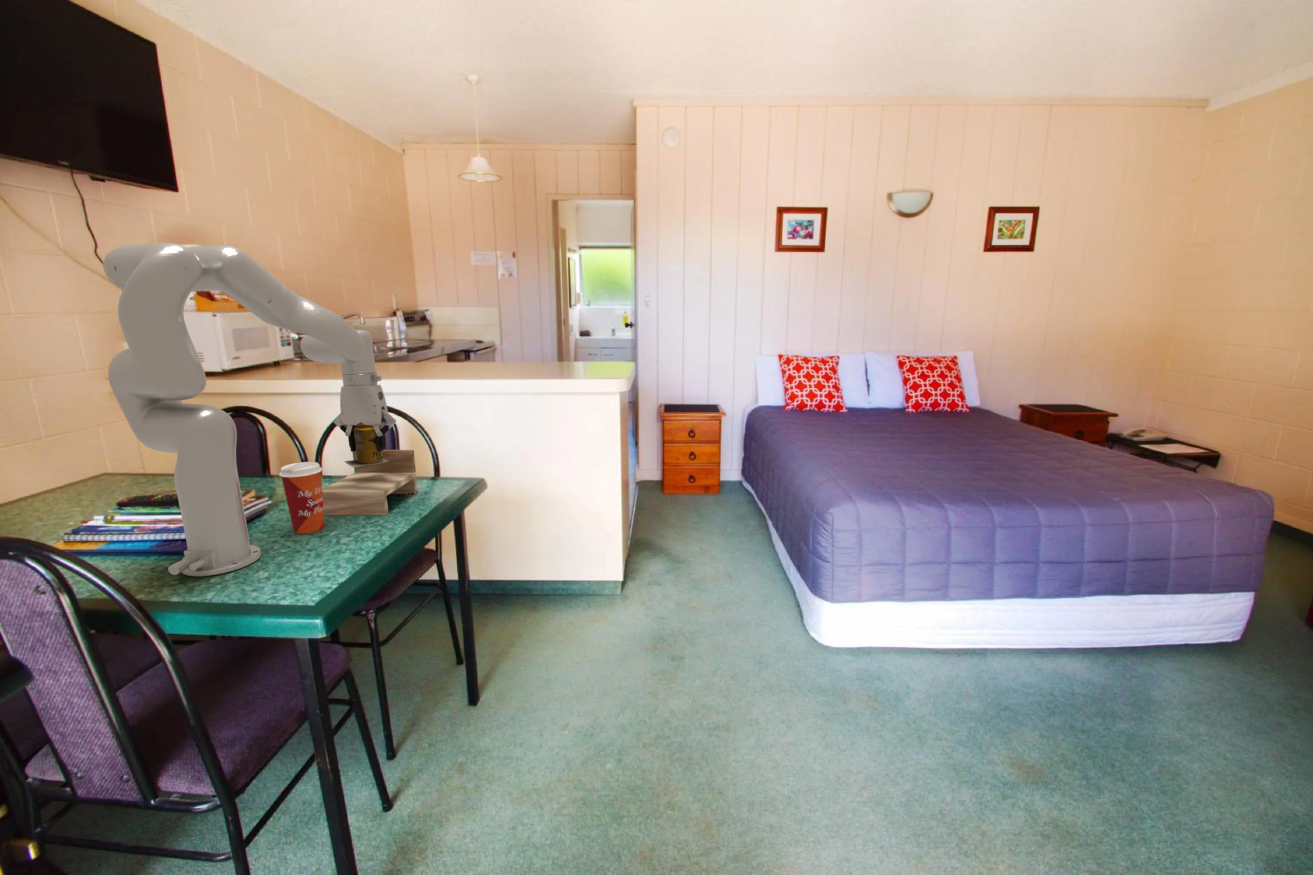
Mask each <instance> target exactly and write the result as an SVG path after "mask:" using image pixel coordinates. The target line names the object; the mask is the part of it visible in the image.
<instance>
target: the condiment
mask: <svg viewBox="0 0 1313 875" xmlns="http://www.w3.org/2000/svg"><path fill="white" fill-rule="evenodd" d="M360 421H361V420H360ZM376 436H377V433H376V431H375V430H374V428H373V426H368V425H365V424H363V423H362V422H360V423H358V424H357V425H356V426H355V427H354V437H355V445H356V454H357V460H352V459H351V460H344V462H343V463H346V464H347V465H349V466H350V467H351V468H354V467H360V466H365V465H372V464H379V463H383V462H388V460H385V459H383V451H381V452H378V451H377V447H376V439H375V437H376Z"/></svg>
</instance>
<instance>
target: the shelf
mask: <svg viewBox="0 0 1313 875" xmlns="http://www.w3.org/2000/svg"><path fill="white" fill-rule="evenodd" d="M352 458H353V460H357V454H356V451H354V452H352ZM383 459H385V460H388V462H383V463H379V464H372V465H365V466H360V467H353V468H354V473H351V474H349V475H347V476H345V477H344V478H342V479H339V480H337V481H336V482H334V483H332V484H329V485H327V486H326V487H323V488H322V493H323V508H324V516H387V515H388V514H389V506H388V499H387V496H388V495H412V494H411V493H416V492H418V493H419V490H418V479H417V469H416V460H415V450H414V449H385V450H383ZM408 493H409V494H408ZM416 494H417V493H416Z"/></svg>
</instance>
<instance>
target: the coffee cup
mask: <svg viewBox="0 0 1313 875" xmlns="http://www.w3.org/2000/svg"><path fill="white" fill-rule="evenodd" d="M322 471H323V467H321V465H320V464H319V462H316V461H302V462H301V461H300V462H294V463H290V464H285V465H283V466H281V468H280V472H279V474H278V475H279V477H281V480H282V484H283V485H282V486H283V489H284V494H285V499H286V503H287V507H288V512H289V516H290V520H291V525H292V529H293V532H294V533H295V534H297V535H307V534H312V533H315V532H320V531H322V530H323V529H324V528H325V515H324V508H323V493H322V489H323V483H322V482H323V481H322Z"/></svg>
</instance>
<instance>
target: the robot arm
mask: <svg viewBox="0 0 1313 875" xmlns="http://www.w3.org/2000/svg"><path fill="white" fill-rule="evenodd" d="M102 263H103V264H102V266H103V267H102V268H103V272H104V274H105V276H106V278H107V279H108V280H109V281H110V283H112V284H113V285H114V286H116V287H117V288H118V289H120V290H122V291H121V294H120V296H119V299H118V306H117V315H118V321H119V325H120V327H121V330H122V333H123V335H124V339H125V341H126V344H127V347H128V348H126V349H123V350H121V351H119V352H118V353H117V354H115V356H113V358H112V359H111V361H110V363H109V366H108V371H107V373H108V381H109V385H110V388H111V390H112V392H113V395H114V397H115V398H116V401H117V402H118V405H119V407H120V409H121V410H122V411H121V412H122V413H123V415H124V417H125V420H126V421H127V423H128V425H129V428H130V429H131V431H132V433H133V434H134V435H135V437H136V439H137V440H138V441H139V442H140V443H141V444H143V445H144V446H145V447H147V448H149V449H151V450H154V451H158V452H163V453H164V452H165V453H171V454H172V453H173V454H176V455H177V457H176V463H175V468H174V473H173V474H174V475H173V476H174V478H173V480H174V486H175V491H176V494H177V499H178V505H179V506H178V507H179V511H180V515H181V520H182V526H183V530H184V535H185V540H186V545H187V549H186V550H184V551H183V554H184V556H183V557H182V559H181V560H180V561H177V562H175V563H173V564H171V565H170V566H168V568H167V569H168V573H170V574H171V575H173V576H177V575H179V574H180V573H182V574H183V575H184V576H185V575H186V576H189V577H210V576H215V575H216V576H217V575H221V574H225V573H230V572H232V571H236V570H239V569H242V568H245V567H247V566H248V565H251V564H253V563H255V562H256V561H258V560H259V559H260V557H261V556H262V551H261V548H260V546H257V545H253V544H251V542H250V537H249V531H248V524H247V520H246V519H247V518H246V514H245V507H244V502H243V495H242V490H241V483H240V480H239V473H238V466H237V439H238V434H237V431H238V430H237V427H236V426H237V425H236V423H235V421H234V420H233V418H232V416H231V415H230V414H228V413H227V412H226V411H224V410H223V409H221V408H218V407H217V406H213V405H208V404H203V403H202V404H199V403H188V402H187V403H184V402H183V401H187V400H191V399H194V398H196V397H198V396H200V395H201V394H202V393H203V391H204V390H205V389H206V385H207V376H206V373H205V369H204V367H203V365H202V362H201V359H200V357H199V354H198V353H197V350H196V347H195V346H194V343H193V340H192V339H191V336H190V334H189V331H188V328H187V324H186V322H185V317H184V310H185V305H186V301H187V299H188V298H189V296H190V294H191V293H192V292H207V291H210V292H212V291H213V292H214V291H215V292H216V291H217V292H218V291H219V292H222V293H224V294H226V295H227V296H228V297H230V298H232V300H234V302H235V301H236V302H237V303H238V304H240V305H241V306H242V307H244V308H245V309H246V310H248V311H249V312H250V313H251V314H252V315H254V316H256V317H257V318H258V319H260V320H261V321H263V322H265V324H269V325H271V326H274V327H277V328H280V329H284V330H287V331H291V332H296V333H299V334H302V335H304V336H303V337H302V338H301V341H300V350H301V353H302V354H303V355H304V356H305V357H306V358H307V359H309V360H311V361H312V362H316V363H325V364H326V363H327V364H340V369H341V375H342V376H341V378H342V386H341V387H340V395H339V396H340V397H339V403H340V404H339V405H340V406H339V409H340V412H339V414H338V415H337V416H336V418H334V420H333V423H334V425H336V426H337V427H338V428H339V429H340V430H341V431H342V432H343V433H344V435H345V437H347V439H348V445H349V449H350V452H352V453H353V452H354V451H356V445H355V437H354V427H355V426H356V425H357V424H358V423H360V422H362V423H363V424H365V425H368V426H373V428H374V430H375V431H376V433H377V436H376V437H375V439H376V447H377V451H378V452H381V451H383V450H387V449H386V447H387V438H386V434H387V433H388V432H389V431H390V430H391V429H392V427H393V426H394V425H395V424H396V423H397V420H396V419H395V417H393V415H391V414H390V413H389V411H388V405H387V401H386V397H385V393H384V391H383V387H382V385H381V384H378V382H381V381H382V376H381V375H379V374H378V375H377V372H376V363H375V355H374V347H373V337H372V334H371V332H370V331H368V330H366V329H356V328H355V327H353V326H352V325H351V324H350V323H349V322H347V321H346V320H345V319H344V318H343V317H341V316H339V315H338V314H337V313H335V312H333V311H332V310H330V309H328V308H325V307H324V306H322V305H319V304H318V303H316V302H314V301H312V300H310V299H308V298H306V297H304V296H301V295H299V294H297V293H295V292H294V291H293V290H291V289H290V288H289V287H287V286H286V285H285V284H284V283H283V282H282V281H280V280H279V279H278V278H277V277H275V276H274V275H273V274H272V273H271V272H269V271H268V270H267V269H266V268H265V267H263V266H262V265H261V264H260V263H259V262H258V261H256V260H255V259H254V258H253V257H251V256H250V255H249V254H248V253H246V252H245V251H244V250H242V249H241V248H238V247H236V246H232V245H224V244H221V245H220V244H218V245H217V244H216V245H214V244H213V245H203V246H202V245H200V246H199V245H198V246H185V245H181V244H178V243H173V242H153V243H141V244H139V243H138V244H127V245H126V244H124V245H120V246H116V247H115V248H112V249H111V250H110V251H108V252H107V253H106V254H105V257H104V258H103V262H102ZM360 420H361V421H360ZM384 423H385V425H384Z"/></svg>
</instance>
